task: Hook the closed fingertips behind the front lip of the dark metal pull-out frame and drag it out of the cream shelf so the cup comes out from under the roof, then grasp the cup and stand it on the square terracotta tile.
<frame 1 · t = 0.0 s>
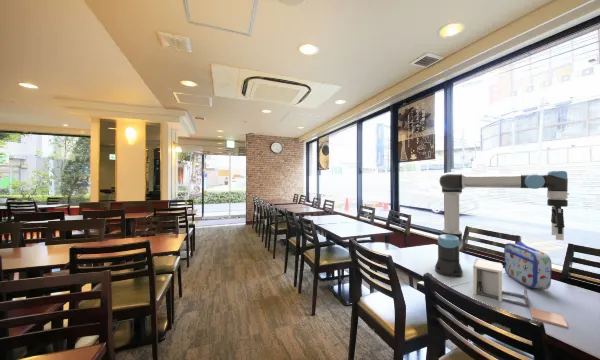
hand: (557, 237, 128), 28 cm above the table, fingers open, 13 cm apart
coaster: (547, 317, 101), on the table
frame: (501, 291, 120), point 2 cm above the table, slide at 0.0 cm
lunch box: (524, 282, 137), on the table
shelf: (489, 293, 123), on the table
cup: (491, 294, 122), resting in frame
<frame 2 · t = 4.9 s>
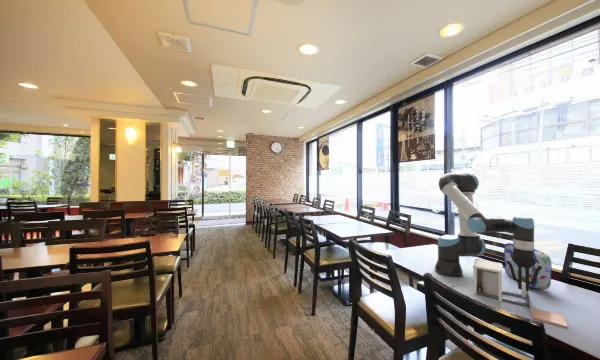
hand: (523, 296, 114), 2 cm above the table, fingers closed
frame: (502, 291, 120), point 2 cm above the table, slide at 0.3 cm, touching gripper
everything else where it was.
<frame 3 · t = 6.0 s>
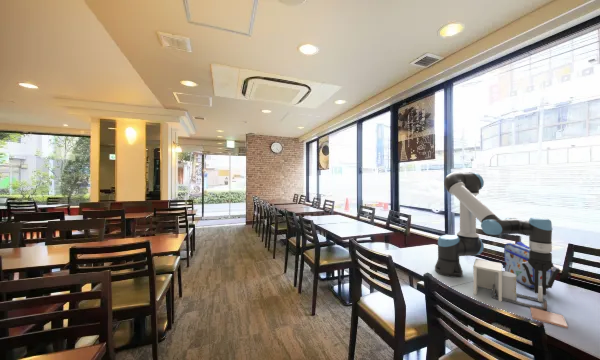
hand: (540, 300, 111), 2 cm above the table, fingers closed
frame: (517, 295, 116), point 2 cm above the table, slide at 6.0 cm, touching gripper
cup: (505, 297, 119), resting in frame
everything else where it was.
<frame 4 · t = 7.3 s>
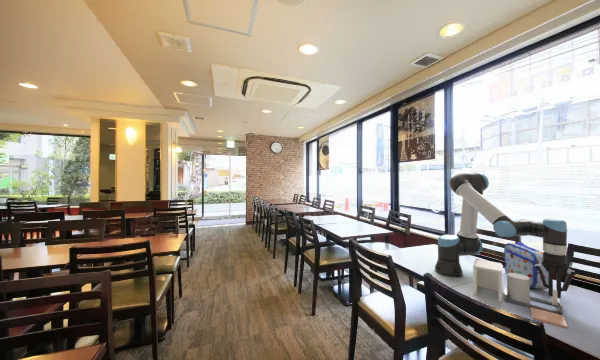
hand: (554, 303, 108), 2 cm above the table, fingers closed
frame: (530, 298, 113), point 2 cm above the table, slide at 10.7 cm, touching cup, gripper
cup: (518, 300, 116), resting in frame
everything else where it was.
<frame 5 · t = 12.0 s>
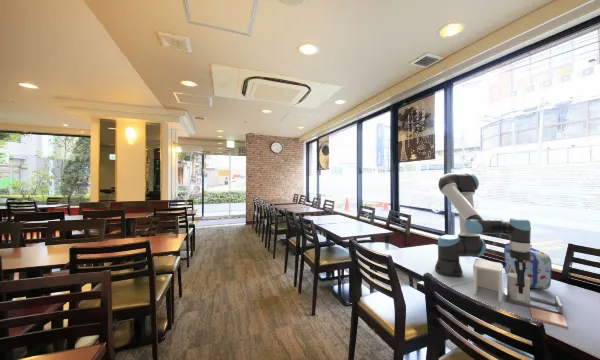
hand: (520, 296, 115), 2 cm above the table, fingers closed on cup, 8 cm apart
frame: (530, 298, 113), point 2 cm above the table, slide at 10.7 cm
cup: (518, 300, 116), resting in frame, touching gripper
everything else where it was.
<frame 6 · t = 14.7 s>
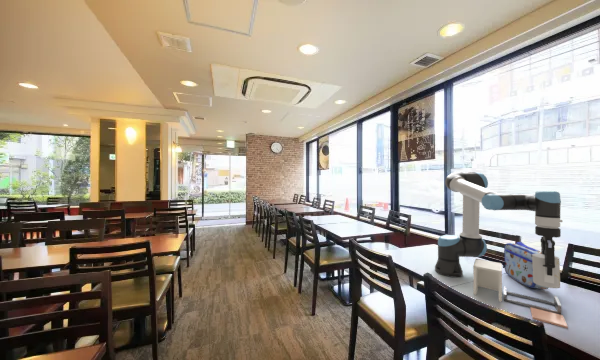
hand: (547, 279, 101), 17 cm above the table, fingers closed on cup, 8 cm apart
frame: (529, 298, 113), point 2 cm above the table, slide at 10.4 cm
cup: (546, 284, 101), point 14 cm above the table, touching gripper
everything else where it was.
when the fingers open (5 cm above the table, at t = 17.3 s): cup drops 1 cm, resting on coaster.
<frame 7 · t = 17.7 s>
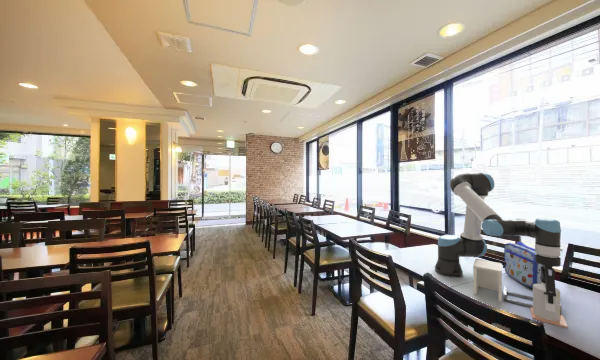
hand: (547, 304, 101), 6 cm above the table, fingers open, 13 cm apart
cup: (546, 316, 101), point 1 cm above the table, touching coaster
everything else where it was.
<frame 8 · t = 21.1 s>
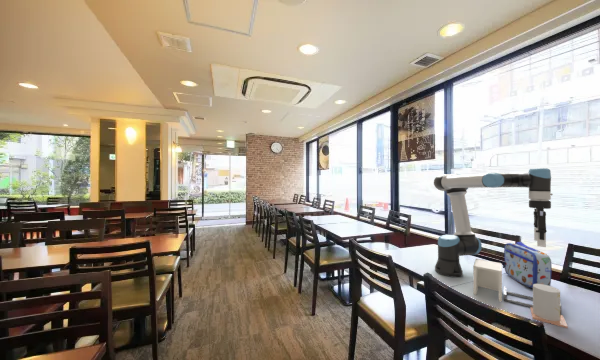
hand: (539, 243, 114), 29 cm above the table, fingers open, 13 cm apart
nothing on the table moved.
at the end: cup 0.5 cm from the coaster (horizontally); cup tilted 0°; frame slide at 10.4 cm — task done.
